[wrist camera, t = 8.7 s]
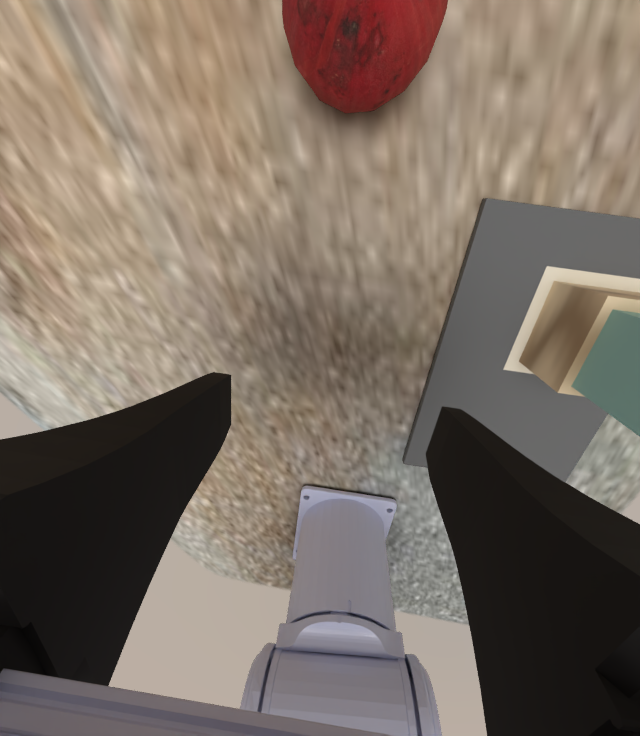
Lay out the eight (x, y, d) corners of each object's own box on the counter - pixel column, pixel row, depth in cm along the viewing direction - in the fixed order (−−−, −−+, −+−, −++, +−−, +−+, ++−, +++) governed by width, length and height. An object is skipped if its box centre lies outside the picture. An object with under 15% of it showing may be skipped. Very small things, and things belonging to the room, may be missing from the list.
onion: (386, 152, 16) (419, 94, 9) (282, 103, 15) (224, -2, 8) (448, 3, 14) (562, -250, 6) (325, -62, 13) (298, -418, 6)
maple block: (598, 372, 19) (656, 407, 16) (518, 361, 20) (557, 392, 16) (644, 293, 17) (722, 311, 14) (554, 280, 17) (608, 295, 14)
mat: (557, 483, 24) (561, 488, 23) (402, 459, 24) (403, 464, 24) (712, 229, 16) (723, 230, 16) (482, 198, 16) (486, 198, 16)
